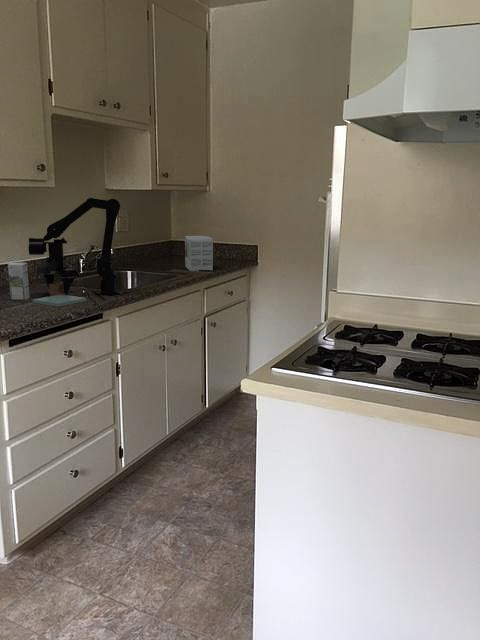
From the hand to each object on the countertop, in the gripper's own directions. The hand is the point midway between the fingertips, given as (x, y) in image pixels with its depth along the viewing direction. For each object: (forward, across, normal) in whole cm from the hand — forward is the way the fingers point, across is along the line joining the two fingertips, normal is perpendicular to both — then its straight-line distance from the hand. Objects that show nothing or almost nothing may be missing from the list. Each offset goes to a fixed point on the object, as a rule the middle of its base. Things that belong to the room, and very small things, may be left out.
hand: (58, 292), depth 228 cm
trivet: (+1, +11, -9) cm, 14 cm away
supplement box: (+2, -3, +103) cm, 103 cm away
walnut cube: (+1, 0, 0) cm, 1 cm away
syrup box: (+2, -6, -14) cm, 15 cm away
